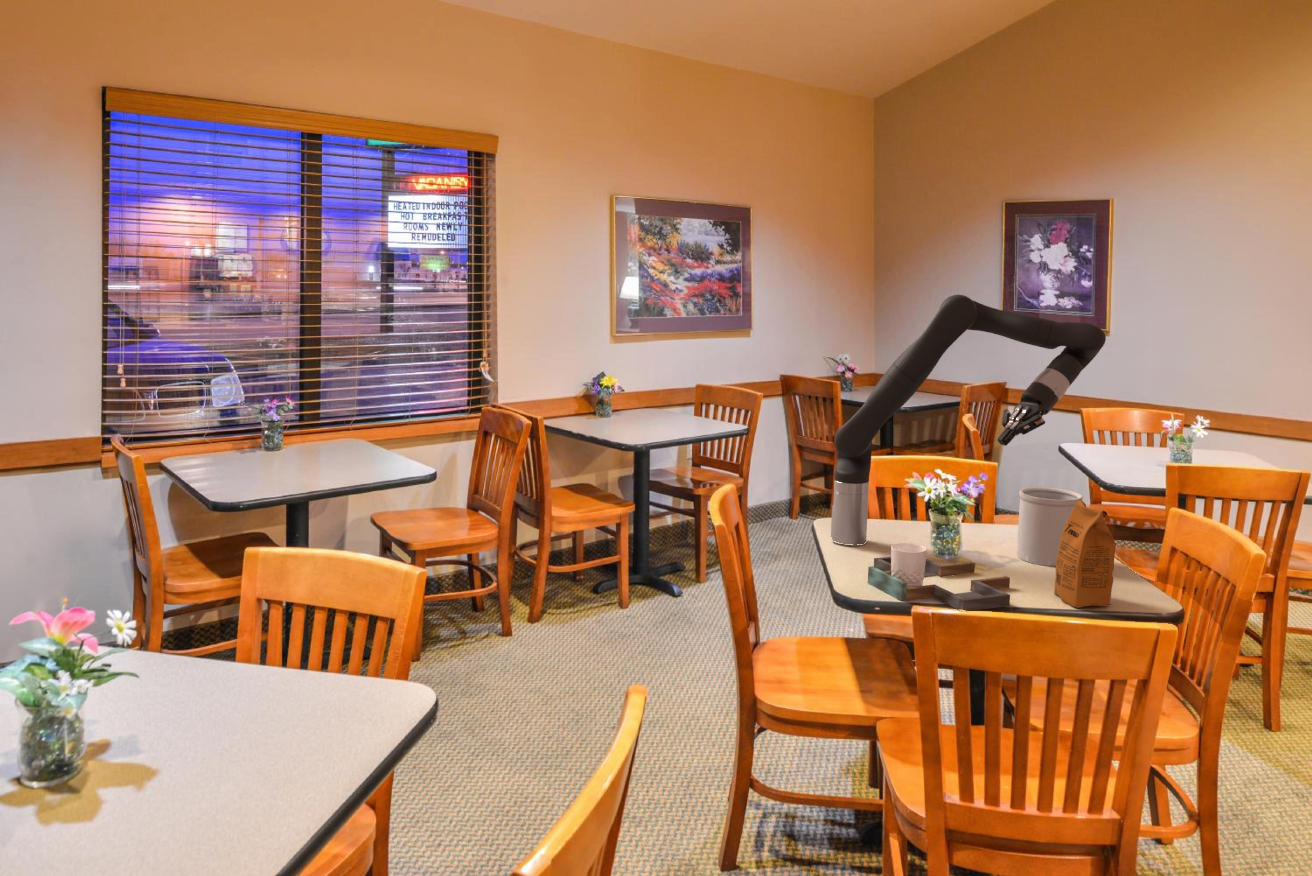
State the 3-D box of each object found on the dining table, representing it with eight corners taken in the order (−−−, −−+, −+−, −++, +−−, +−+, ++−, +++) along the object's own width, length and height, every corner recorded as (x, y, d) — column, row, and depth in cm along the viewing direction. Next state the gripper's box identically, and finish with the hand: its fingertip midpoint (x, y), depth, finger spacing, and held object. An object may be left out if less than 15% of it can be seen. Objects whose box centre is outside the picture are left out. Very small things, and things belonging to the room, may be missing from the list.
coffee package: (1090, 592, 210) (1099, 498, 206) (1116, 610, 197) (1125, 511, 194) (1047, 591, 210) (1054, 497, 206) (1069, 609, 198) (1077, 510, 194)
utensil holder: (1087, 568, 229) (1093, 499, 226) (1027, 567, 229) (1032, 498, 226) (1062, 551, 243) (1067, 487, 241) (1006, 550, 244) (1010, 486, 241)
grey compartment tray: (844, 571, 224) (845, 555, 223) (944, 560, 234) (945, 545, 233) (929, 616, 192) (930, 597, 192) (1041, 601, 202) (1042, 584, 202)
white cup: (897, 596, 206) (900, 552, 204) (883, 585, 213) (885, 543, 212) (930, 594, 207) (933, 551, 205) (915, 583, 214) (917, 542, 213)
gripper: (1018, 378, 228) (974, 428, 226) (1057, 383, 216) (1012, 436, 213) (1033, 399, 231) (990, 449, 228) (1073, 404, 218) (1028, 457, 216)
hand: (1001, 443), depth 221 cm, fingers closed
